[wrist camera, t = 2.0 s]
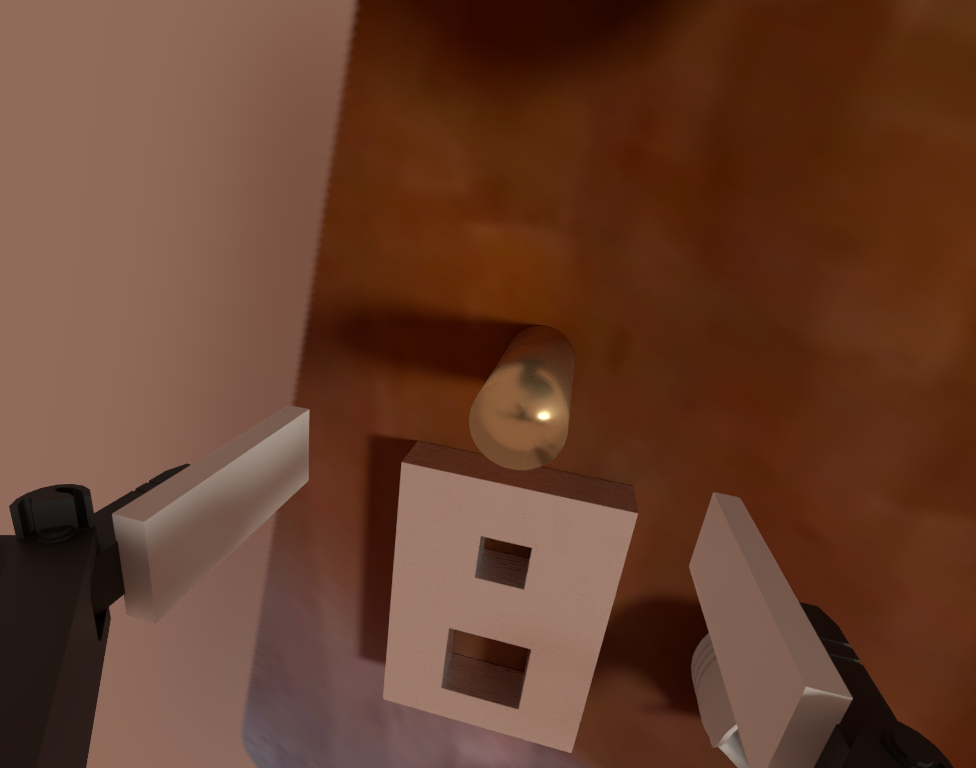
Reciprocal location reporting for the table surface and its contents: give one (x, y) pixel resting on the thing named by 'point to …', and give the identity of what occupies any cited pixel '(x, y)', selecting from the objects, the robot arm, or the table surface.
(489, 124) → the table surface
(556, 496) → the white peg hole board
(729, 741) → the engine component
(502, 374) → the cylinder
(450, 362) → the table surface
